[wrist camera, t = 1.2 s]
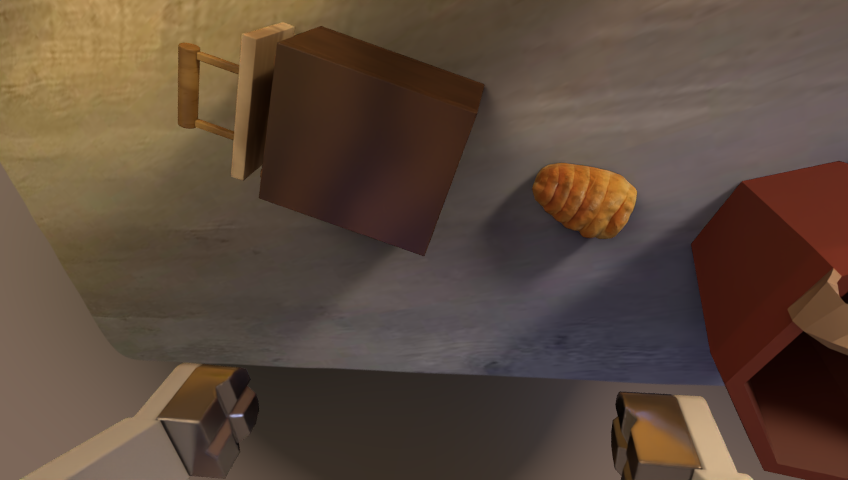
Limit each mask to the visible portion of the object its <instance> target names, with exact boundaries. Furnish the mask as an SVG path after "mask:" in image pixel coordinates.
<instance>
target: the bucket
mask: <svg viewBox="0 0 848 480" xmlns="http://www.w3.org/2000/svg"><path fill="white" fill-rule="evenodd" d="M691 247H692V252H693V258H694V264H695V269H696V275H697V280H698V286H699V292H700V297H701V303H702V308H703V314H704V319H705V325H706V331H707V336H708V342H709V347H710V353H711V355H712V357H713V360H714V362H715V364H716V366H717V369H718V371H719V373H720V375H721V378H722V380H723V382H724V384H725V387H726V389H727V391H728V393H729V395H730V398H731V400H732V402H733V404H734V407H735V409H736V411H737V413H738V416H739V418H740V420H741V422H742V424H743V427H744V429H745V431H746V433H747V436H748V438H749V440H750V442H751V444H752V446H753V448H754V450H755V453H756V455H757V457H758V459H759V461H760V463H761V465H762V468H763V469H764V471H768V472H773V473H778V474H782V475H787V476H791V477H796V478H801V479H805V480H848V163H844V162H841V161H837V162H832V163H827V164H822V165H818V166H813V167H808V168H803V169H799V170H794V171H789V172H784V173H779V174H775V175H770V176H765V177H760V178H756V179H751V180H746V181H742V182H741V183H740V184H739V186H738V187H737V188H736V189H735V190H734V192H733V193H732V194H731V195H730V197H729V198H728V199H727V200H726V202H725V203H724V204H723V205H722V206H721V208H720V209H719V210H718V211H717V213H716V214H715V215H714V216H713V218H712V219H711V220H710V221H709V222H708V224H707V225H706V226H705V227H704V229H703V230H702V231H701V232H700V234H699V235H698V236H697V237H696V239H695V240H694V241H693V242H692V243H691Z"/></svg>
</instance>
